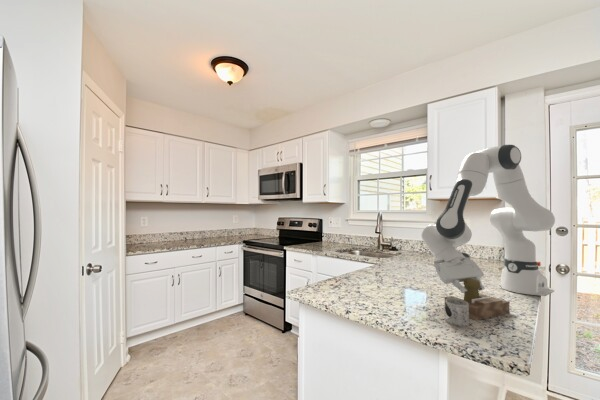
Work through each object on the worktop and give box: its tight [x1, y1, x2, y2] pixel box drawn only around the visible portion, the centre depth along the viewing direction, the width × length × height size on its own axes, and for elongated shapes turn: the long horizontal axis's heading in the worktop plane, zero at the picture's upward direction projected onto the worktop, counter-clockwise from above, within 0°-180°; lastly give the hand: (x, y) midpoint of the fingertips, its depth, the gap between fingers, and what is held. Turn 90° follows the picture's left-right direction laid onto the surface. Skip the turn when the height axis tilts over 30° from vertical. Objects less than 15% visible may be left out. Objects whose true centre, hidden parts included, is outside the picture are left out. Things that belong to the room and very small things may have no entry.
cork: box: [463, 279, 480, 302], centre depth 101 cm, size 6×6×11 cm
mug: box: [444, 299, 470, 328], centre depth 86 cm, size 10×7×7 cm
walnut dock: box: [444, 292, 510, 321], centre depth 99 cm, size 18×12×5 cm, turn 113°
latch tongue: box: [472, 296, 492, 303], centre depth 97 cm, size 9×1×4 cm, turn 113°
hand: (473, 290), depth 100 cm, fingers open, 8 cm apart
